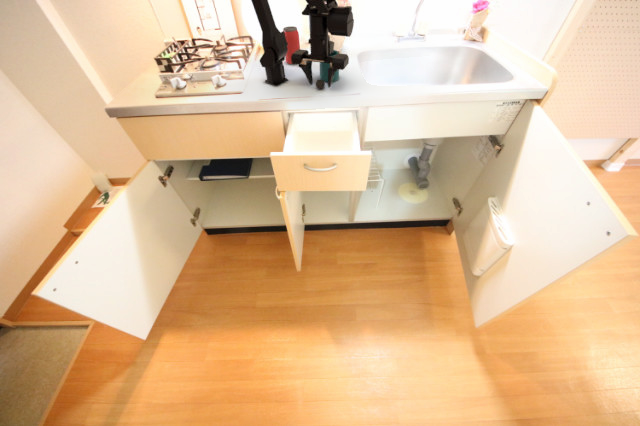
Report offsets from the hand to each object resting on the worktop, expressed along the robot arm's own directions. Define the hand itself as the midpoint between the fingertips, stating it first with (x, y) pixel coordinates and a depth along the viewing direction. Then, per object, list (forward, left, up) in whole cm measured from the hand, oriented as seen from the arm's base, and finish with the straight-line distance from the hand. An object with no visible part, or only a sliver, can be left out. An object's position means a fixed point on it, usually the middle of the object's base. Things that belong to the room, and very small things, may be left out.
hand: (320, 85), depth 86 cm
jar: (+9, +3, -1) cm, 10 cm away
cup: (+32, +20, -1) cm, 38 cm away
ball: (0, 0, +1) cm, 1 cm away
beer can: (+13, +26, -1) cm, 29 cm away
